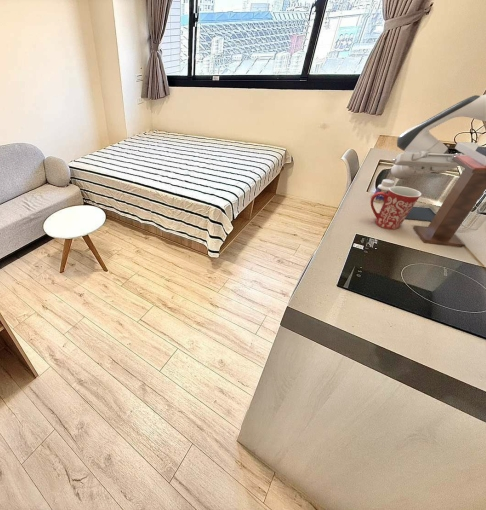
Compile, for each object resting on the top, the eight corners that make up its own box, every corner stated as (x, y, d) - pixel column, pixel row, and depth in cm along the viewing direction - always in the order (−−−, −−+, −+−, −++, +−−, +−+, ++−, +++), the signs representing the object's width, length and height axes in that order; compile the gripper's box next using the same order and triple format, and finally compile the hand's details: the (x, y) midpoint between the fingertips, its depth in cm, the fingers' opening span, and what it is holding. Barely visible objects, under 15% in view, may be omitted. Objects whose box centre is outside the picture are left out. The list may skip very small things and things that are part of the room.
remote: (470, 148, 90) (476, 138, 88) (503, 166, 77) (512, 155, 75) (454, 148, 91) (460, 138, 89) (484, 166, 78) (492, 154, 76)
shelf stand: (446, 230, 98) (496, 156, 83) (463, 249, 90) (523, 170, 74) (411, 226, 102) (454, 155, 86) (424, 244, 93) (474, 167, 77)
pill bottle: (375, 203, 118) (384, 183, 113) (369, 197, 122) (378, 178, 117) (389, 203, 117) (399, 183, 112) (382, 198, 121) (392, 178, 116)
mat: (429, 208, 112) (429, 207, 111) (442, 222, 103) (443, 222, 102) (393, 205, 115) (393, 204, 115) (403, 219, 106) (403, 218, 106)
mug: (401, 222, 105) (420, 188, 97) (403, 233, 99) (423, 198, 91) (362, 214, 111) (376, 182, 103) (361, 224, 105) (376, 191, 97)
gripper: (390, 154, 116) (409, 144, 103) (453, 156, 109) (481, 147, 96) (387, 169, 117) (404, 162, 104) (448, 173, 110) (476, 165, 97)
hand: (442, 154), depth 100 cm, fingers open, 8 cm apart
